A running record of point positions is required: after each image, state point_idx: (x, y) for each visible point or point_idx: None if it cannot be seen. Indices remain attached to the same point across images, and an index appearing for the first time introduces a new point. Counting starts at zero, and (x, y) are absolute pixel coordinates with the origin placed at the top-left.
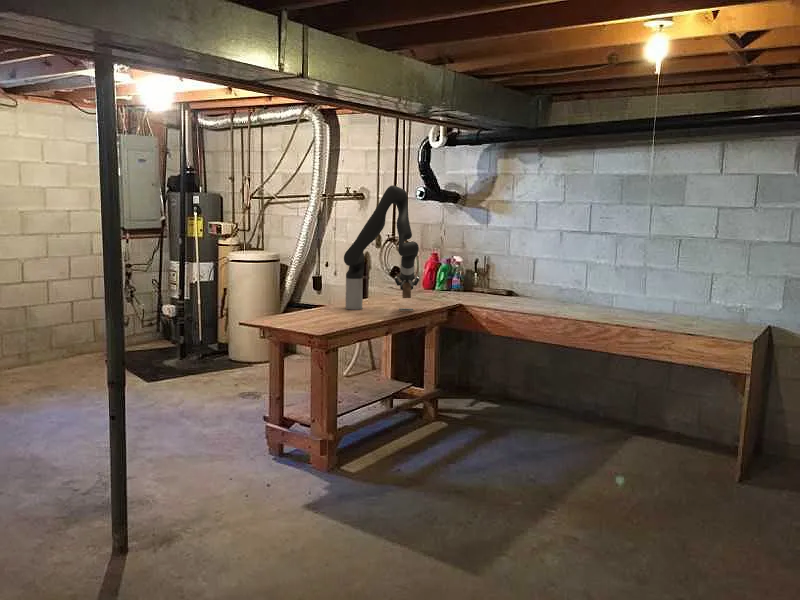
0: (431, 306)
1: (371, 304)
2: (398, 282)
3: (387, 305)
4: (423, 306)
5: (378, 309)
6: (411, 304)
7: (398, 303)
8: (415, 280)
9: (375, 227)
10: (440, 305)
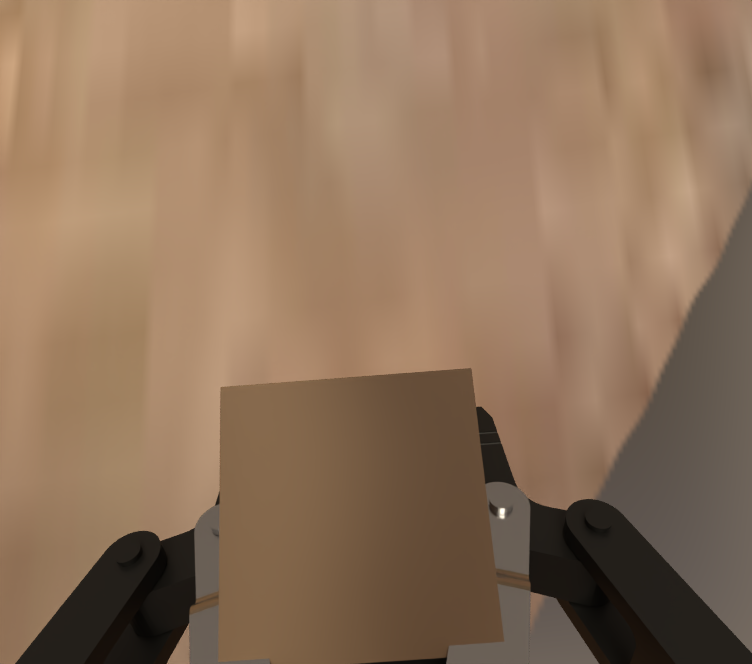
0: (612, 202)
1: (39, 167)
2: (144, 612)
3: (187, 203)
4: (535, 213)
5: (85, 475)
6: (412, 114)
7: (290, 77)
8: (629, 613)
9: None
10: (690, 131)
